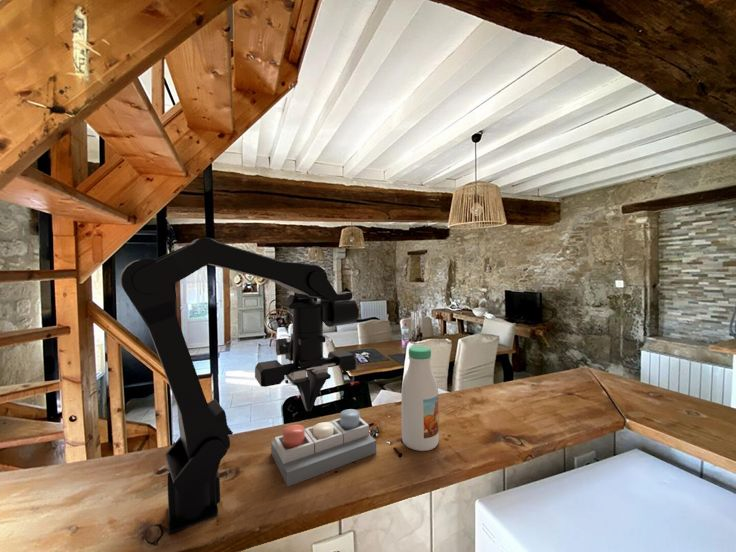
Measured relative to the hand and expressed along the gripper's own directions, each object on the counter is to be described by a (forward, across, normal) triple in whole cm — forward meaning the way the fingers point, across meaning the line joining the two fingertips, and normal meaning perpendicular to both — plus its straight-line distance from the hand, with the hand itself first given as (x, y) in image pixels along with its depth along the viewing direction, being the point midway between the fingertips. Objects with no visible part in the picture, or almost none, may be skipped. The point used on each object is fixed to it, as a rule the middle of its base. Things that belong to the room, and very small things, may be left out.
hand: (308, 410), depth 61 cm
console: (+10, -3, 0) cm, 10 cm away
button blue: (+5, -9, 0) cm, 11 cm away
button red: (+6, +3, 0) cm, 6 cm away
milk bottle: (+10, -22, +7) cm, 25 cm away
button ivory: (+7, -3, 0) cm, 8 cm away
